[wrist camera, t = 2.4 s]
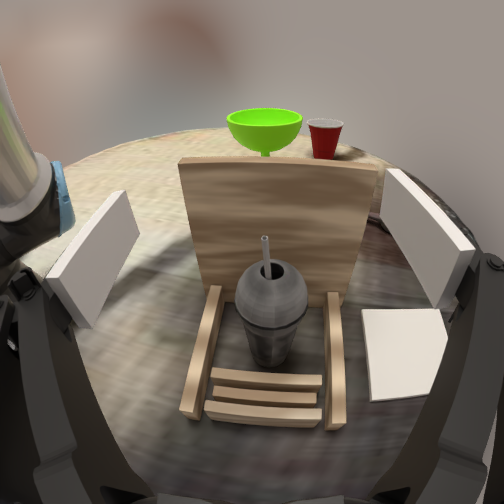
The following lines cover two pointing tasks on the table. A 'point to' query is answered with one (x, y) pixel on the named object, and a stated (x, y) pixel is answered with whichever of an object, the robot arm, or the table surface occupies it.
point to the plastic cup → (324, 137)
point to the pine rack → (275, 245)
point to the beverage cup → (271, 307)
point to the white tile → (402, 351)
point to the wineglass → (264, 128)
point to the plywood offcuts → (264, 398)
